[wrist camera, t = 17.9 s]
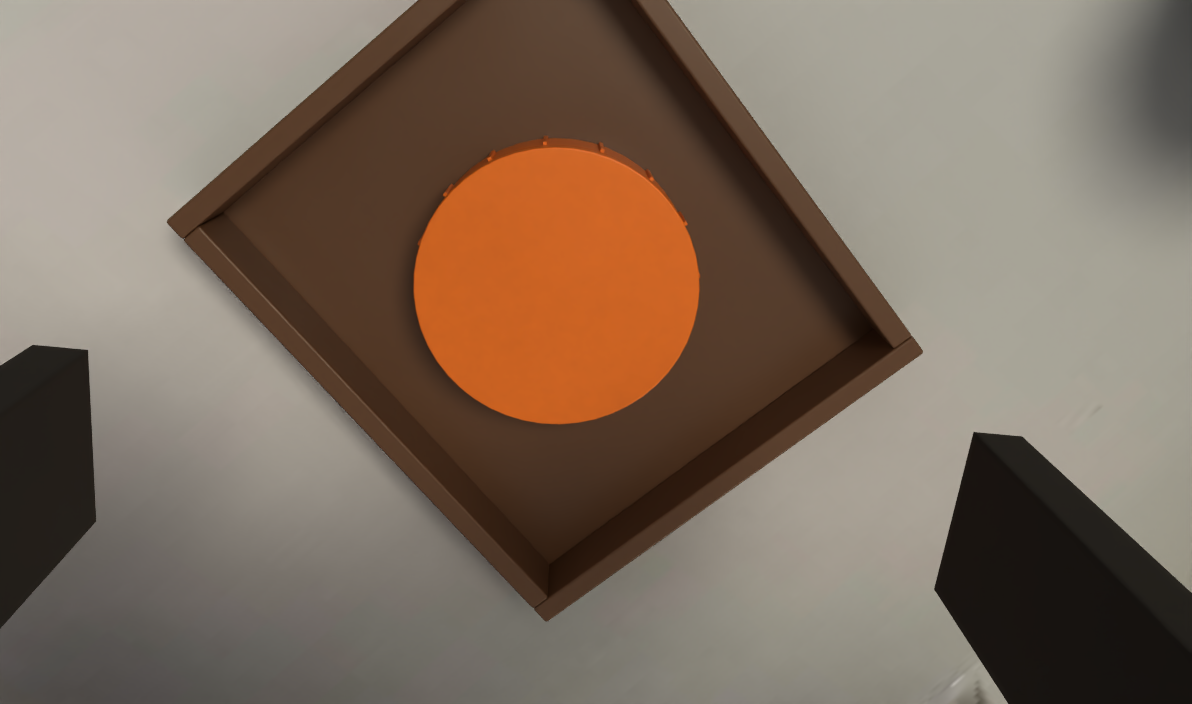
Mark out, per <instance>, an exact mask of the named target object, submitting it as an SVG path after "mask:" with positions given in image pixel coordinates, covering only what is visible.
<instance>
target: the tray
mask: <svg viewBox="0 0 1192 704" xmlns="http://www.w3.org/2000/svg"><path fill="white" fill-rule="evenodd" d="M547 135H548V138H565V139H576V140H581V141H586V142H591V143H594V144H597V145H598V144H599V142H601V143H603V146H604V147H606V148H609V149H611V150H613V151H615V152H617V153H619V154H621V155H623V156H625V157H627V158H628V159H630V160H631V161H633V162H634V163H636V164H637V165H639V166H640V167H641V168H642V169H643V170H645V171H646V169H648V170H649V171H650V172H651V174H652V176H653V178H654V180H655V181H656V182H657V183H658V184H659V185H660V187H661V188H662V189H663V190H664V191H665V193H666V194H667V196H668V197H669V199H670V200H671V202H672V203H673V205H674V206H675V208H676V210H677V212H681V213H682V215H683V217H684V218H685V220H686V222H687V224H688V225H686V226H685V227H686V229H687V231H688V233H689V235H690V238H691V241H692V244H693V247H694V250H695V253H696V258H697V264H698V270H699V273H700V278H699V288H700V291H699V301H698V309H697V314H696V318H695V322H694V326H693V329H692V331H691V334H690V337H689V339H688V342H687V344H686V346H685V348H684V349H683V351H682V353H681V355H680V357H679V359H678V360H677V361H676V363H675V364H674V366H673V367H672V368H671V370H670V371H669V372H668V373H667V375H666V376H665V377H664V378H663V379H662V380H661V381H660V382H659V383H658V384H657V385H656V386H655V387H654V388H653V389H651V390H650V391H649V392H648V393H647V394H645V395H644V396H643V397H641V398H640V399H638V400H637V401H635V402H634V403H632V404H630V405H629V406H627V407H625V408H623V409H621V410H619V411H617V412H614V413H612V414H610V415H607V416H604V417H601V418H598V419H594V420H589V421H584V422H579V423H570V424H542V423H536V422H530V421H524V420H520V419H517V418H514V417H510V416H507V415H505V414H502V413H500V412H498V411H495V410H493V409H491V408H489V407H487V406H486V405H484V404H482V403H480V402H479V401H477V400H475V399H474V398H473V397H471V396H470V395H469V394H467V393H466V392H465V391H464V390H462V389H461V388H460V387H459V386H458V385H457V384H456V383H455V382H454V381H453V380H452V379H451V378H450V377H449V376H448V375H447V374H446V372H445V371H444V370H443V369H442V367H441V366H440V365H439V363H438V362H437V361H436V359H435V357H434V356H433V354H432V352H431V350H430V349H429V347H428V345H427V343H426V341H425V338H424V336H423V333H422V331H421V329H420V325H419V321H418V317H417V314H416V309H415V301H414V294H413V287H414V268H415V261H416V256H417V252H418V249H419V245H418V241H419V240H420V238H421V237H422V235H423V234H424V232H425V229H426V227H427V225H428V223H429V221H430V219H431V218H432V216H433V214H434V213H435V211H436V209H437V208H438V206H439V205H440V203H441V202H442V200H443V199H444V197H445V196H443V194H444V193H445V191H446V190H447V188H448V187H449V186H450V184H453V185H455V183H456V182H457V181H458V180H459V179H460V178H461V177H462V176H463V175H464V174H465V173H466V172H467V171H469V170H470V169H471V168H472V167H473V166H475V165H476V164H478V163H479V162H480V161H482V160H483V159H485V158H486V157H488V156H489V154H490V152H491V151H493V150H495V152H498V151H500V150H502V149H504V148H507V147H510V146H513V145H515V144H518V143H522V142H527V141H532V140H536V139H543V138H544V136H547ZM167 223H168V224H169V226H170V227H171V228H172V229H173V230H174V231H175V232H176V233H177V234H178V235H179V236H180V237H181V238H185V239H184V241H185V242H186V243H187V245H188V246H189V247H190V248H191V249H192V250H193V251H194V252H195V253H196V254H197V255H198V256H199V257H200V258H201V259H202V260H203V261H204V262H205V263H206V265H207V266H208V267H209V268H210V269H211V270H212V271H213V272H214V273H215V274H216V275H217V276H218V277H219V278H220V279H221V280H222V281H223V282H224V283H225V285H226V286H227V287H228V288H229V289H230V290H231V291H232V292H233V293H234V294H235V295H236V296H237V297H238V298H239V299H240V300H241V301H242V302H243V303H244V305H245V306H246V307H247V308H248V309H249V310H250V311H251V312H252V313H253V314H254V315H255V316H256V317H257V318H258V319H259V320H260V321H261V322H262V323H263V325H264V326H265V327H266V328H267V329H268V330H269V331H270V332H271V333H272V334H273V335H274V336H275V337H276V338H277V339H278V340H279V341H280V342H281V343H282V345H283V346H284V347H285V348H286V349H287V350H288V351H289V352H290V353H291V354H292V355H293V356H294V357H295V358H296V359H297V360H298V361H299V362H300V363H301V365H302V366H303V367H304V368H305V369H306V370H307V371H308V372H309V373H310V374H311V375H312V376H313V377H314V378H315V379H316V380H317V381H318V382H319V383H320V385H321V386H322V387H323V388H324V389H325V390H326V391H327V392H328V393H329V394H330V395H331V396H332V397H333V398H334V399H335V400H336V401H337V402H338V404H339V405H340V406H341V407H342V408H343V409H344V410H345V411H346V412H347V413H348V414H349V415H350V416H351V417H352V418H353V419H354V420H355V421H356V422H357V424H358V425H359V426H360V427H361V428H362V429H363V430H364V431H365V432H366V433H367V434H368V435H369V436H370V437H371V438H372V439H373V440H374V441H375V442H376V444H377V445H378V446H379V447H380V448H381V449H382V450H383V451H384V452H385V453H386V454H387V455H388V456H389V457H390V458H391V459H392V460H393V461H394V462H395V464H396V465H397V466H398V467H399V468H400V469H401V470H402V471H403V472H404V473H405V474H406V475H407V476H408V477H409V478H410V479H411V480H412V481H413V482H414V484H415V485H416V486H417V487H418V488H419V489H420V490H421V491H422V492H423V493H424V494H425V495H426V496H427V497H428V498H429V499H430V500H431V501H432V502H433V504H434V505H435V506H436V507H437V508H438V509H439V510H440V511H441V512H442V513H443V514H444V515H445V516H446V517H447V518H448V519H449V520H450V521H451V522H452V524H453V525H454V526H455V527H456V528H457V529H458V530H459V531H460V532H461V533H462V534H463V535H464V536H465V537H466V538H467V539H468V540H469V541H470V542H471V544H472V545H473V546H474V547H475V548H476V549H477V550H478V551H479V552H480V553H481V554H482V555H483V556H484V557H485V558H486V559H487V560H488V561H489V563H490V564H491V565H492V566H493V567H494V568H495V569H496V570H497V571H498V572H499V573H500V574H501V575H502V576H503V577H504V578H505V579H506V580H507V581H508V583H509V584H510V585H511V586H512V587H513V588H514V589H515V590H516V591H517V592H518V593H519V594H520V595H521V596H522V597H523V598H524V599H525V600H526V601H527V603H528V604H529V605H530V606H531V607H533V608H534V610H535V611H536V612H537V613H538V614H539V615H540V616H541V617H542V618H543V619H544V620H545V621H546V622H547V621H549V620H550V619H551V618H553V617H554V616H556V615H557V614H558V613H560V612H561V611H563V610H564V609H565V608H567V607H568V606H570V605H571V604H572V603H574V602H575V601H577V600H578V599H579V598H581V597H582V596H584V595H585V594H586V593H588V592H589V591H591V590H592V589H593V588H595V587H596V586H598V585H599V584H600V583H602V582H603V581H605V580H606V579H607V578H609V577H610V576H612V575H613V574H614V573H616V572H617V571H619V570H620V569H621V568H623V567H624V566H626V565H627V564H628V563H630V562H631V561H633V560H634V559H635V558H637V557H638V556H640V555H641V554H642V553H644V552H645V551H647V550H648V549H649V548H651V547H652V546H654V545H655V544H656V543H658V542H659V541H661V540H662V539H663V538H665V537H666V536H667V535H669V534H670V533H672V532H673V531H674V530H676V529H677V528H679V527H680V526H681V525H683V524H684V523H686V522H687V521H688V520H690V519H691V518H693V517H694V516H695V515H697V514H698V513H700V512H701V511H702V510H704V509H705V508H707V507H708V506H709V505H711V504H712V503H714V502H715V501H716V500H718V499H719V498H721V497H722V496H723V495H725V494H726V493H728V492H729V491H730V490H732V489H733V488H735V487H736V486H737V485H739V484H740V483H742V482H743V481H744V480H746V479H747V478H749V477H750V476H751V475H753V474H754V473H756V472H757V471H758V470H760V469H761V468H763V467H764V466H765V465H767V464H768V463H770V462H771V461H772V460H774V459H775V458H777V457H778V456H779V455H781V454H782V453H784V452H785V451H786V450H788V449H789V448H791V447H792V446H793V445H795V444H796V443H798V442H799V441H800V440H802V439H803V438H805V437H806V436H807V435H809V434H810V433H812V432H813V431H814V430H816V429H817V428H819V427H820V426H821V425H823V424H824V423H826V422H827V421H828V420H830V419H831V418H833V417H834V416H835V415H837V414H838V413H840V412H841V411H842V410H844V409H845V408H847V407H848V406H849V405H851V404H852V403H854V402H855V401H856V400H858V399H859V398H861V397H862V396H863V395H865V394H866V393H868V392H869V391H870V390H872V389H873V388H875V387H876V386H877V385H879V384H880V383H882V382H883V381H884V380H886V379H887V378H889V377H890V376H891V375H893V374H894V373H896V372H897V371H898V370H900V369H901V368H903V367H904V366H905V365H907V364H908V363H910V362H911V361H912V360H914V359H915V358H917V357H918V356H919V355H921V354H922V353H923V350H922V349H921V347H920V346H919V345H918V343H917V342H916V341H915V339H914V338H913V337H912V336H911V334H910V332H909V331H908V330H907V328H906V327H905V325H904V324H903V323H902V321H901V320H900V319H899V317H898V316H897V315H896V313H895V312H894V310H893V309H892V308H891V306H890V305H889V304H888V302H887V301H886V299H885V298H884V297H883V295H882V294H881V293H880V291H879V290H878V289H877V287H876V286H875V284H874V283H873V282H872V280H871V279H870V278H869V276H868V275H867V273H866V272H865V271H864V269H863V268H862V267H861V265H860V264H859V262H858V261H857V260H856V258H855V257H854V256H853V254H852V253H851V252H850V250H849V249H848V247H847V246H846V245H845V243H844V242H843V241H842V239H841V238H840V236H839V235H838V234H837V232H836V231H835V230H834V228H833V227H832V226H831V224H830V223H829V221H828V220H827V219H826V217H825V216H824V215H823V213H822V212H821V210H820V209H819V208H818V206H817V205H816V204H815V202H814V201H813V200H812V198H811V197H810V195H809V194H808V193H807V191H806V190H805V189H804V187H803V186H802V184H801V183H800V182H799V180H798V179H797V178H796V176H795V175H794V173H793V172H792V171H791V169H790V168H789V167H788V165H787V164H786V163H785V161H784V160H783V158H782V157H781V156H780V154H779V153H778V152H777V150H776V149H775V147H774V146H773V145H772V143H771V142H770V141H769V139H768V138H767V137H766V135H765V134H764V132H763V131H762V130H761V128H760V127H759V126H758V124H757V123H756V121H755V120H754V119H753V117H752V116H751V115H750V113H749V112H748V111H747V109H746V108H745V106H744V105H743V104H742V102H741V101H740V100H739V98H738V97H737V95H736V94H735V93H734V91H733V90H732V89H731V87H730V86H729V84H728V83H727V82H726V80H725V79H724V78H723V76H722V75H721V74H720V72H719V71H718V69H717V68H716V67H715V65H714V64H713V63H712V61H711V60H710V58H709V57H708V56H707V54H706V53H705V52H704V50H703V49H702V48H701V46H700V45H699V43H698V42H697V41H696V39H695V38H694V37H693V35H692V34H691V32H690V31H689V30H688V28H687V27H686V26H685V24H684V23H683V21H682V20H681V19H680V17H679V16H678V15H677V13H676V12H675V11H674V9H673V8H672V6H671V5H670V4H669V2H668V1H667V0H418V1H417V2H416V3H414V4H413V5H412V6H411V7H410V8H409V9H408V10H406V11H405V12H404V13H403V14H402V15H401V16H400V17H398V18H397V19H396V20H395V21H394V22H393V23H392V24H390V25H389V26H388V27H387V28H386V29H385V30H384V31H382V32H381V33H380V34H379V35H378V36H377V37H376V38H374V39H373V40H372V41H371V42H370V43H369V44H368V45H366V46H365V47H364V48H363V49H362V50H361V51H360V52H358V53H357V54H356V55H355V56H354V57H353V58H352V59H350V60H349V61H348V62H347V63H346V64H345V65H344V66H343V67H341V68H340V69H339V70H338V71H337V72H336V73H335V74H333V75H332V76H331V77H330V78H329V79H328V80H327V81H325V82H324V83H323V84H322V85H321V86H320V87H319V88H317V89H316V90H315V91H314V92H313V93H312V94H311V95H309V96H308V97H307V98H306V99H305V100H304V101H303V102H301V103H300V104H299V105H298V106H297V107H296V108H295V109H293V110H292V111H291V112H290V113H289V114H288V115H287V116H285V117H284V118H283V119H282V120H281V121H280V122H279V123H277V124H276V125H275V126H274V127H273V128H272V129H271V130H270V131H268V132H267V133H266V134H265V135H264V136H263V137H262V138H260V139H259V140H258V141H257V142H256V143H255V144H254V145H252V146H251V147H250V148H249V149H248V150H247V151H246V152H244V153H243V154H242V155H241V156H240V157H239V158H238V159H236V160H235V161H234V162H233V163H232V164H231V165H230V166H228V167H227V168H226V169H225V170H224V171H223V172H222V173H220V174H219V175H218V176H217V177H216V178H215V179H214V180H212V181H211V182H210V183H209V184H208V185H207V186H206V187H204V188H203V189H202V190H201V191H200V192H199V193H198V194H197V195H195V196H194V197H193V198H192V199H191V200H190V201H189V202H187V203H186V204H185V205H184V206H183V207H182V208H181V209H179V210H178V211H177V212H176V213H175V214H174V215H173V216H171V217H170V218H169V219H168V220H167Z"/></svg>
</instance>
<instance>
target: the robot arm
mask: <svg viewBox="0 0 1192 704" xmlns="http://www.w3.org/2000/svg"><path fill="white" fill-rule="evenodd" d="M95 522H96V510H95V489H94V468H93V447H92V426H91V405H90V385H89V364H88V350H81V349H70V348H60V347H49V346H38V345H32V346H30V347H29V348H27V349H26V350H24V351H23V352H21V353H19V354H18V355H16V356H15V357H13V358H12V359H10V360H9V361H7V362H6V363H4V364H2V365H1V366H0V628H1V627H2V626H3V625H4V624H5V623H6V622H7V620H8V619H9V618H10V617H11V616H12V615H13V614H14V613H15V611H16V610H17V609H18V608H19V607H20V606H21V605H22V604H23V602H24V601H25V600H26V599H27V598H28V597H29V596H30V595H31V594H32V592H33V591H34V590H35V589H36V588H37V587H38V586H39V585H40V583H41V582H42V581H43V580H44V579H45V578H46V577H47V576H48V575H49V573H50V572H51V571H52V570H53V569H54V568H55V567H56V566H57V564H58V563H59V562H60V561H61V560H62V559H63V558H64V557H65V556H66V554H67V553H68V552H69V551H70V550H71V549H72V548H73V547H74V545H75V544H76V543H77V542H78V541H79V540H80V539H81V538H82V537H83V535H84V534H85V533H86V532H87V531H88V530H89V529H90V528H91V526H92V525H93V524H94V523H95ZM934 590H935V591H936V593H937V594H938V596H939V597H940V599H941V600H942V602H943V603H944V605H945V607H946V608H947V610H948V611H949V613H950V614H951V616H952V617H953V619H954V620H955V622H956V624H957V625H958V627H959V628H960V630H961V631H962V633H963V634H964V636H965V637H966V639H967V640H968V642H969V644H970V645H971V647H972V648H973V650H974V651H975V653H976V654H977V656H978V657H979V659H980V661H981V662H982V664H983V665H984V667H985V668H986V670H987V671H988V673H989V674H990V676H991V678H992V679H993V681H994V682H995V684H996V685H997V687H998V688H999V690H1000V691H1001V693H1002V694H1003V696H1004V698H1005V699H1006V701H1007V702H1008V704H1192V593H1191V592H1190V591H1189V590H1188V589H1187V588H1185V587H1184V586H1183V585H1182V584H1181V583H1180V582H1179V581H1178V580H1177V579H1176V578H1175V577H1174V576H1172V575H1171V574H1170V573H1169V572H1168V571H1167V570H1166V569H1165V568H1164V567H1163V566H1162V565H1161V564H1160V563H1158V562H1157V561H1156V560H1155V559H1154V558H1153V557H1152V556H1151V555H1150V554H1149V553H1148V552H1147V551H1145V550H1144V549H1143V548H1142V547H1141V546H1140V545H1139V544H1138V543H1137V542H1136V541H1135V540H1134V539H1132V538H1131V537H1130V536H1129V535H1128V534H1127V533H1126V532H1125V531H1124V530H1123V529H1122V528H1121V527H1119V526H1118V525H1117V524H1116V523H1115V522H1114V521H1113V520H1112V519H1111V518H1110V517H1109V516H1108V515H1106V514H1105V513H1104V512H1103V511H1102V510H1101V509H1100V508H1099V507H1098V506H1097V505H1096V504H1095V503H1093V502H1092V501H1091V500H1090V499H1089V498H1088V497H1087V496H1086V495H1085V494H1084V493H1083V492H1082V491H1080V490H1079V489H1078V488H1077V487H1076V486H1075V485H1074V484H1073V483H1072V482H1071V481H1070V480H1069V479H1067V478H1066V477H1065V476H1064V475H1063V474H1062V473H1061V472H1060V471H1059V470H1058V469H1057V468H1056V467H1054V466H1053V465H1052V464H1051V463H1050V462H1049V461H1048V460H1047V459H1046V458H1045V457H1044V456H1043V455H1041V454H1040V453H1039V452H1038V451H1037V450H1036V449H1035V448H1034V447H1033V446H1032V445H1031V444H1030V443H1028V442H1027V441H1026V440H1025V439H1024V438H1023V437H1021V436H1010V435H999V434H988V433H977V432H974V433H973V437H972V441H971V445H970V449H969V453H968V457H967V461H966V465H965V469H964V473H963V477H962V481H961V485H960V489H959V493H958V497H957V501H956V505H955V509H954V513H953V517H952V521H951V525H950V529H949V533H948V537H947V541H946V545H945V549H944V552H943V556H942V560H941V564H940V568H939V572H938V576H937V580H936V584H935V588H934Z"/></svg>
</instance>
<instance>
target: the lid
mask: <svg viewBox="0 0 1192 704" xmlns="http://www.w3.org/2000/svg"><path fill="white" fill-rule="evenodd" d="M443 196H445V197H444V199H443V200H442V202H441V203H440V205H439V206H438V208H437V209H436V211H435V213H434V214H433V216H432V218H431V219H430V221H429V223H428V225H427V227H426V229H425V232H424V234H423V235H422V237H421V238H420V240H419V241H418V245H419V249H418V252H417V256H416V261H415V268H414V287H413V294H414V301H415V309H416V314H417V317H418V321H419V325H420V329H421V331H422V333H423V336H424V338H425V341H426V343H427V345H428V347H429V349H430V350H431V352H432V354H433V356H434V357H435V359H436V361H437V362H438V363H439V365H440V366H441V367H442V369H443V370H444V371H445V372H446V374H447V375H448V376H449V377H450V378H451V379H452V380H453V381H454V382H455V383H456V384H457V385H458V386H459V387H460V388H461V389H462V390H464V391H465V392H466V393H467V394H469V395H470V396H471V397H473V398H474V399H475V400H477V401H479V402H480V403H482V404H484V405H486V406H487V407H489V408H491V409H493V410H495V411H498V412H500V413H502V414H505V415H507V416H510V417H514V418H517V419H520V420H524V421H530V422H536V423H542V424H570V423H579V422H584V421H589V420H594V419H598V418H601V417H604V416H607V415H610V414H612V413H614V412H617V411H619V410H621V409H623V408H625V407H627V406H629V405H630V404H632V403H634V402H635V401H637V400H638V399H640V398H641V397H643V396H644V395H645V394H647V393H648V392H649V391H650V390H651V389H653V388H654V387H655V386H656V385H657V384H658V383H659V382H660V381H661V380H662V379H663V378H664V377H665V376H666V375H667V373H668V372H669V371H670V370H671V368H672V367H673V366H674V364H675V363H676V361H677V360H678V359H679V357H680V355H681V353H682V351H683V349H684V348H685V346H686V344H687V342H688V339H689V337H690V334H691V331H692V329H693V326H694V322H695V318H696V314H697V309H698V301H699V291H700V288H699V278H700V273H699V270H698V264H697V258H696V253H695V250H694V247H693V244H692V241H691V238H690V235H689V233H688V231H687V229H686V227H685V226H686V225H688V224H687V222H686V220H685V218H684V217H683V215H682V213H681V212H677V210H676V208H675V206H674V205H673V203H672V202H671V200H670V199H669V197H668V196H667V194H666V193H665V191H664V190H663V189H662V188H661V187H660V185H659V184H658V183H657V182H656V181H655V180H654V178H653V176H652V174H651V172H650V171H649V170H648V169H646V171H645V170H643V169H642V168H641V167H640V166H639V165H637V164H636V163H634V162H633V161H631V160H630V159H628V158H627V157H625V156H623V155H621V154H619V153H617V152H615V151H613V150H611V149H609V148H606V147H604V146H603V143H601V142H599V144H598V145H597V144H594V143H591V142H586V141H581V140H576V139H565V138H548V135H547V136H544V138H543V139H536V140H532V141H527V142H522V143H518V144H515V145H513V146H510V147H507V148H504V149H502V150H500V151H498V152H495V150H493V151H491V152H490V154H489V156H488V157H486V158H485V159H483V160H482V161H480V162H479V163H478V164H476V165H475V166H473V167H472V168H471V169H470V170H469V171H467V172H466V173H465V174H464V175H463V176H462V177H461V178H460V179H459V180H458V181H457V182H456V183H455V185H453V184H450V186H449V187H448V188H447V190H446V191H445V193H444V194H443Z"/></svg>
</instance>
